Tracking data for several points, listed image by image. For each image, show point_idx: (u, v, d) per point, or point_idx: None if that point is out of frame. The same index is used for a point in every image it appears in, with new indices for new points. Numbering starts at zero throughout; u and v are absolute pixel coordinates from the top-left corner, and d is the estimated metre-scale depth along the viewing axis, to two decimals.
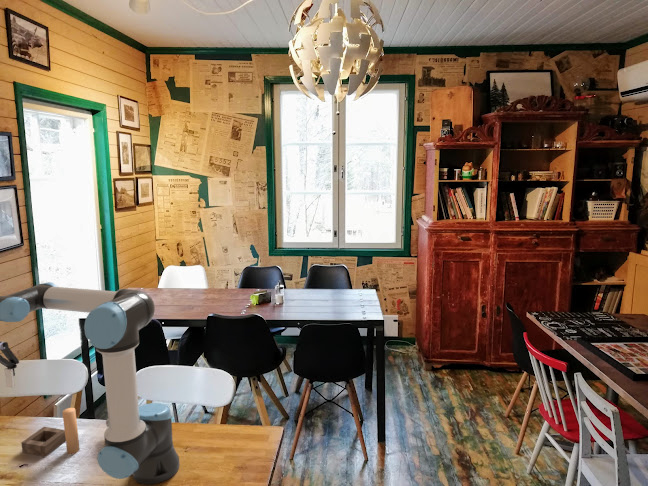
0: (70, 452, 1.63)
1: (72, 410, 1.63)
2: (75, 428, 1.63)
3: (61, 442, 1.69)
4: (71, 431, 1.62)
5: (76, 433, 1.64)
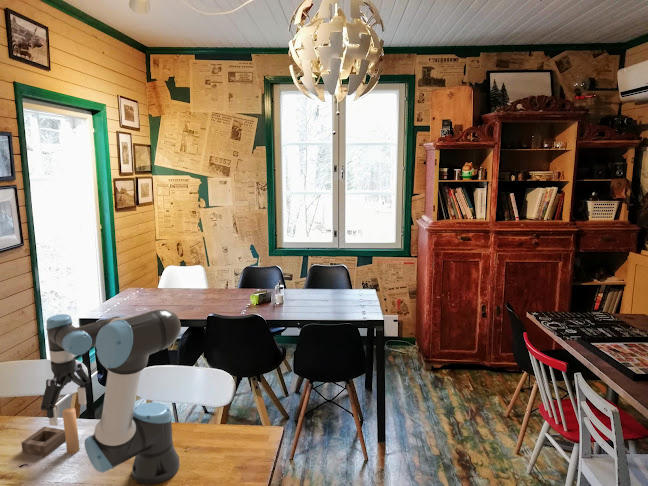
0: (70, 452, 1.63)
1: (72, 410, 1.63)
2: (75, 428, 1.63)
3: (61, 442, 1.69)
4: (71, 431, 1.62)
5: (76, 433, 1.64)
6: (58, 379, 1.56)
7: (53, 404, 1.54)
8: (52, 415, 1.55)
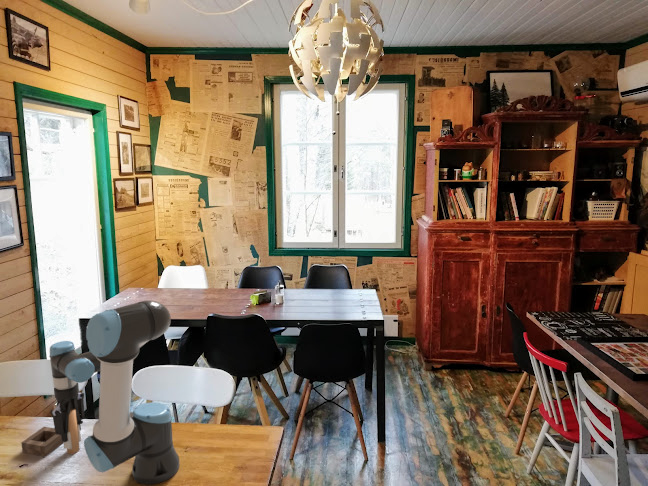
0: (70, 452, 1.63)
1: (72, 410, 1.63)
2: (75, 428, 1.63)
3: (61, 442, 1.69)
4: (71, 431, 1.62)
5: (76, 433, 1.64)
6: (62, 406, 1.58)
7: (66, 429, 1.60)
8: (66, 439, 1.61)
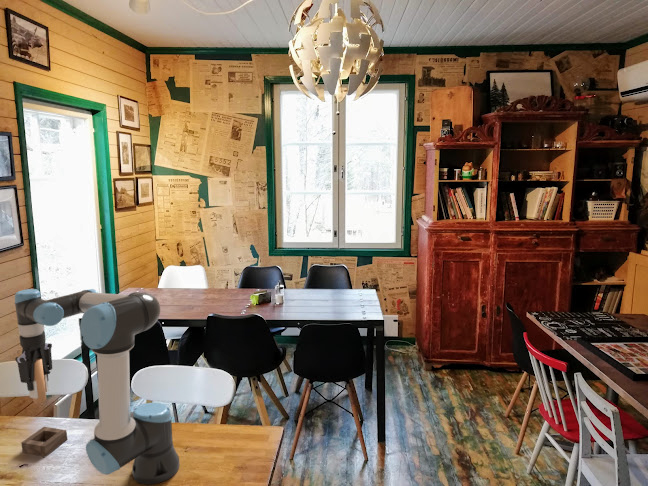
0: (36, 401, 1.63)
1: (38, 359, 1.62)
2: (41, 377, 1.62)
3: (61, 442, 1.69)
4: (37, 380, 1.61)
5: (43, 383, 1.63)
6: (27, 354, 1.57)
7: (32, 377, 1.59)
8: (32, 388, 1.60)
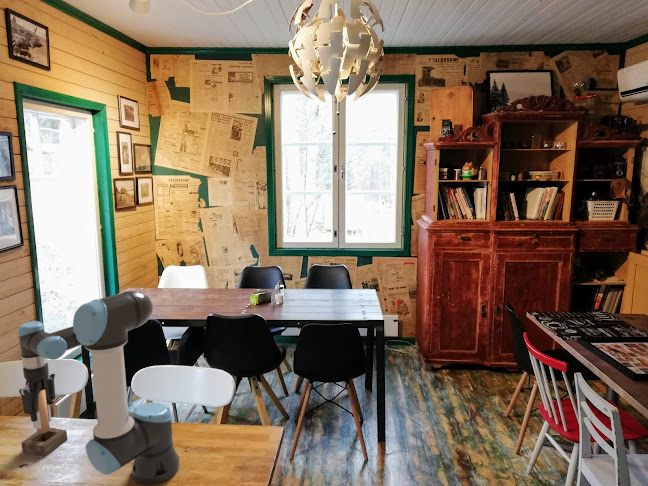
0: (40, 431, 1.65)
1: (42, 390, 1.64)
2: (45, 408, 1.65)
3: (61, 442, 1.69)
4: (41, 411, 1.64)
5: (46, 413, 1.65)
6: (30, 386, 1.59)
7: (35, 408, 1.62)
8: (35, 419, 1.62)
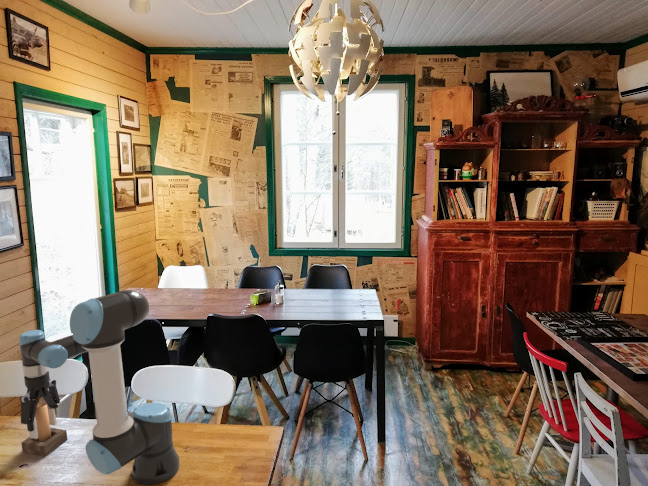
0: None
1: (44, 406, 1.65)
2: (47, 423, 1.66)
3: (61, 442, 1.69)
4: (43, 427, 1.65)
5: (48, 428, 1.67)
6: (31, 394, 1.60)
7: (32, 418, 1.60)
8: (32, 428, 1.61)
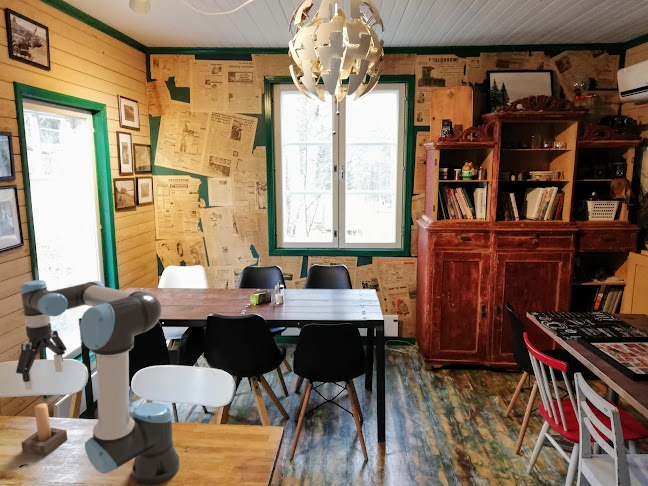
0: None
1: (44, 406, 1.65)
2: (47, 423, 1.66)
3: (61, 442, 1.69)
4: (43, 427, 1.65)
5: (48, 428, 1.67)
6: (33, 344, 1.58)
7: (29, 368, 1.56)
8: (28, 379, 1.57)
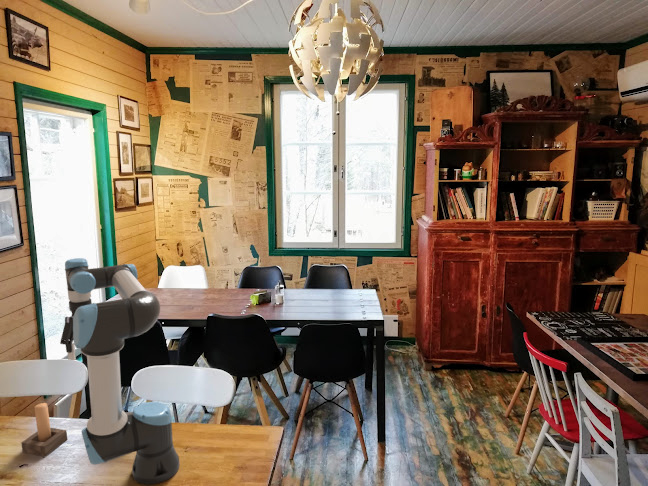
0: None
1: (44, 405, 1.65)
2: (47, 423, 1.66)
3: (61, 442, 1.69)
4: (43, 426, 1.65)
5: (48, 428, 1.67)
6: None
7: (71, 339, 1.67)
8: (70, 350, 1.68)
